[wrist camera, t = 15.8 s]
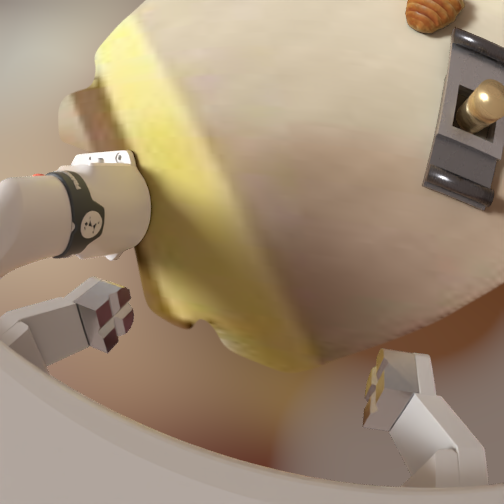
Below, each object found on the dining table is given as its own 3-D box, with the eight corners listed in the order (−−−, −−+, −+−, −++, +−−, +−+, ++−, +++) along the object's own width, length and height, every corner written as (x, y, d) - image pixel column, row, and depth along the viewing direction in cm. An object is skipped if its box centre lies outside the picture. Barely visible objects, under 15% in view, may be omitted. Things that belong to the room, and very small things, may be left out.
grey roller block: (480, 209, 30) (493, 212, 26) (421, 185, 33) (427, 185, 28) (505, 62, 24) (517, 48, 20) (449, 38, 27) (456, 21, 22)
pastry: (437, 47, 28) (441, 35, 25) (391, 19, 29) (391, 4, 26) (465, 6, 24) (470, -8, 21) (422, -20, 26) (423, -35, 22)
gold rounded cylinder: (453, 127, 30) (475, 107, 21) (458, 100, 29) (480, 73, 20) (480, 138, 28) (509, 122, 19) (484, 111, 27) (513, 88, 18)
